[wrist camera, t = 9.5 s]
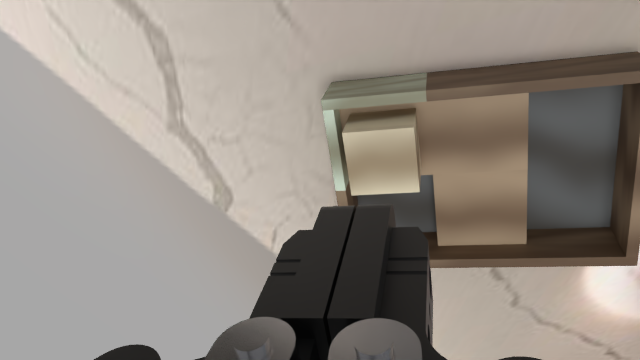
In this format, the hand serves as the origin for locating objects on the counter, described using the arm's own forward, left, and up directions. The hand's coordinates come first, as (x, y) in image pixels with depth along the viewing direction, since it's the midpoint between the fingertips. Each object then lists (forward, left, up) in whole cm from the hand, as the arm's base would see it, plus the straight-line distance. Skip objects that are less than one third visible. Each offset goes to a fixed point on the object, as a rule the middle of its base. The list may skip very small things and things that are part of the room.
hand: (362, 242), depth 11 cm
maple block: (+9, -3, -28) cm, 30 cm away
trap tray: (+12, +4, -31) cm, 34 cm away
